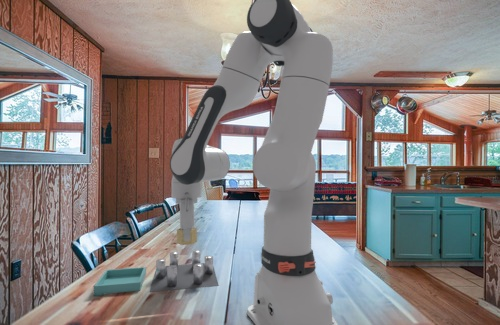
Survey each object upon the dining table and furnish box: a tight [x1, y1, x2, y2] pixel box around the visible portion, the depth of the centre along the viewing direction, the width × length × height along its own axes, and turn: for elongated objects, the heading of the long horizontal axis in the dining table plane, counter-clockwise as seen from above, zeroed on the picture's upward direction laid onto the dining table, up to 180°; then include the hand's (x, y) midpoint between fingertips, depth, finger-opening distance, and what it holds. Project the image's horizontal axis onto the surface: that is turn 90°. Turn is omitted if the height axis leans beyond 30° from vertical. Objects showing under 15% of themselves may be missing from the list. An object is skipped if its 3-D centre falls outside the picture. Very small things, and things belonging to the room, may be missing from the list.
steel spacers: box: [155, 249, 214, 287], centre depth 80 cm, size 15×17×5 cm
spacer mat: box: [149, 262, 220, 293], centre depth 80 cm, size 18×18×1 cm
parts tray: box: [93, 266, 147, 297], centre depth 75 cm, size 11×11×2 cm
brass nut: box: [176, 227, 198, 246], centre depth 80 cm, size 6×5×4 cm
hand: (186, 237), depth 80 cm, fingers closed on brass nut, 5 cm apart
